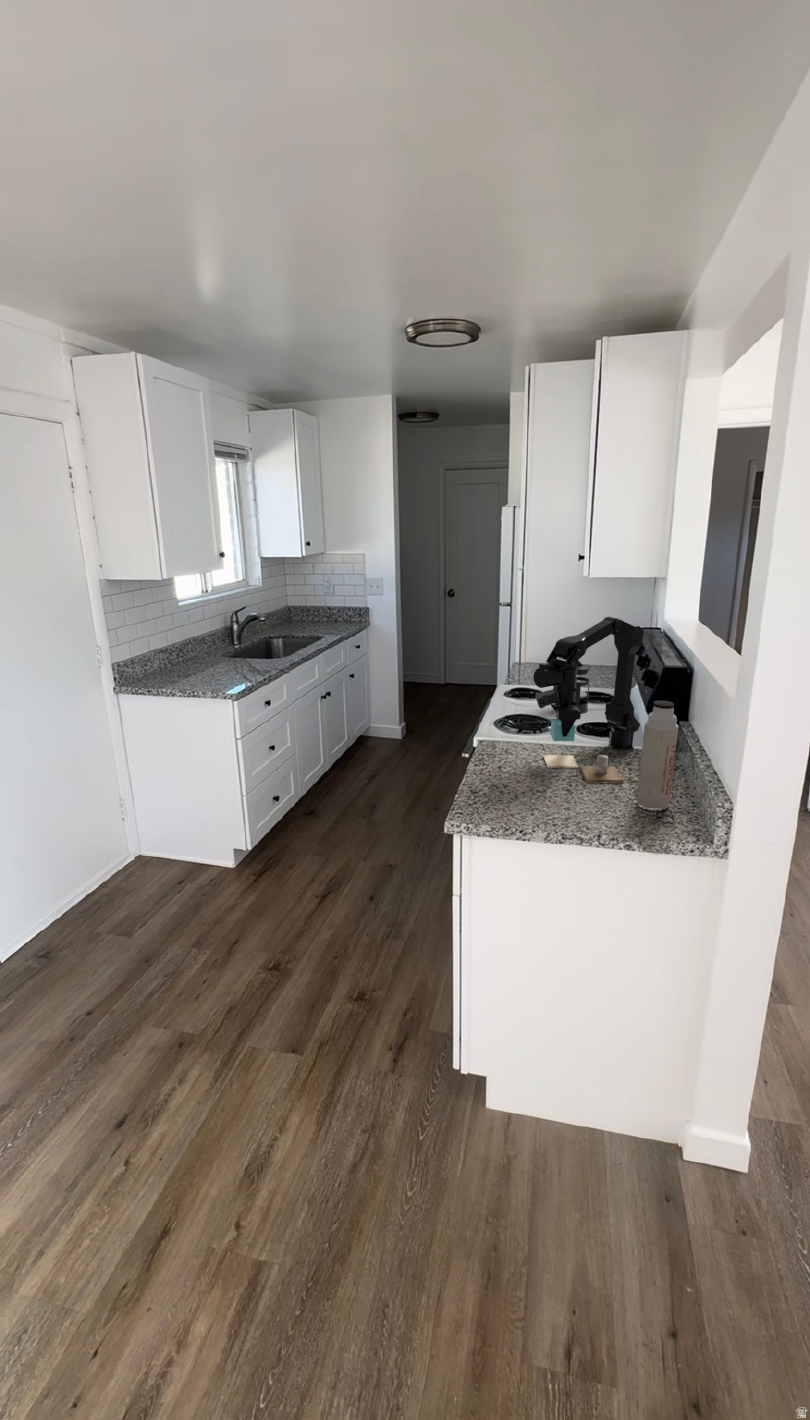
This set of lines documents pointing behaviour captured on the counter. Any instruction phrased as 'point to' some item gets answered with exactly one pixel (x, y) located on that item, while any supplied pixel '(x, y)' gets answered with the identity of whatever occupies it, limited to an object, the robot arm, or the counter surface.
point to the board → (560, 761)
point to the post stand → (601, 772)
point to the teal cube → (557, 731)
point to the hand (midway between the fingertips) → (562, 732)
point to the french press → (580, 703)
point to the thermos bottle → (658, 756)
